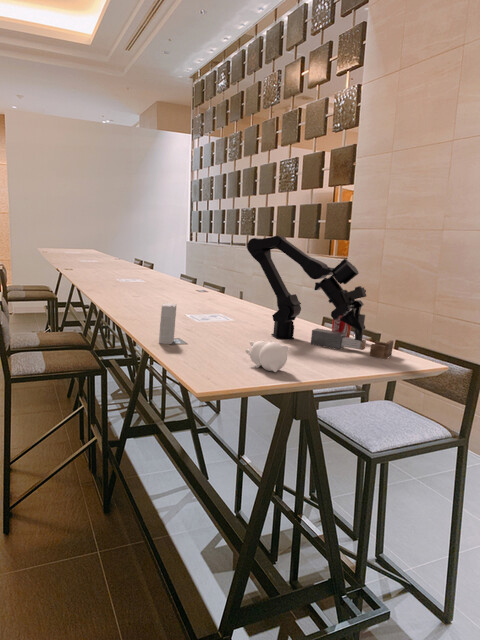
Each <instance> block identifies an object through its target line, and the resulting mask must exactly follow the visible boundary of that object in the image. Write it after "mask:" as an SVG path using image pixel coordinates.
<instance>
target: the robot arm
mask: <svg viewBox="0 0 480 640" xmlns="http://www.w3.org/2000/svg"><path fill="white" fill-rule="evenodd" d="M246 249H247V251H248V252H249V254H250V255H251V257H252V258H253V259H254V260H255V261H256V262H258V264H259V265H260V267H261V269H262V271H263V273H264V275H265V277H266V279H267V280H268V283H269V285H270V286H271V289H272V291H273V293H274V295H275V297H276V305H277V308H278V310H277V311H275V312H274V313H273V314H272V320H273V322H274V323H273V333H271V336H272V337H274V338H276V339H279V340H280V339H281V340H283V339H286V340H291V339H292V340H294V339H295V337H294V332H295V325H294V321H295V320H296V318H297V317H298V316H299V315H300V313H301V311H302V307H301V305H302V303H301V302H300V300H299V298H298V295H297V294H291V293H290V292H289V290H288V289H287V287H286V285H285V283H284V281H283V279H282V277H281V275H280V273H279V271H278V269H277V267H276V265H275V263H274V261H273V259H272V250H275V249H278V250H279V251H280V252H282V253H283V254H285V255H286V256H287V257H288V258H290V259H291V260H293V261H294V262H295V263H296V264H298V265H299V266H300V267H301V269H302V270H303V271H304V272H305V274H306V275H308V277H309V278H310V279H313V280H321V281H319V282H314V283H315V285H314V291H320V290H322V292H323V293H324V295H325V296H326V297H327V299H328V301H327V302H329V304H332V306H333V307H334V309H333V310H332V311H331V312H330V316H331V319H332V320H333V319H334V320H337V319H338V317H339V316H342V318H341V319H339V320H340V321H343V322H345V323H346V324H348V325H350V326H351V328H353V329H354V328H355V329H357V330H359V331H361V330H363V331H364V330H366V325H365V324H364V329H363V328H362V327H361V325H360V323H359V321H358V319H357V318H356V314H361V309H362V307H363V306H364V305H365V304H364V303H363V301H362V300H361V298H366V297H367V294H366V293H367V290H366V289H365V287H362V286H360V285H359V286H355V287H354V289H352V290H350V291H348V289H343V287H342V286H341V285H342V284H343V285H347V284H348V283H350V282H351V280H353V279H354V278H355V277H356V276H358V275H359V274H360V273H359V270H358V269H357V267H356V266H355V265H353V264H352V263H351V262H350V261H349V260H348V259H347V258H344V259H342V260H341V261H340V263H338V264H337V265H336V266H335V267H329V265H328V264H326V263H325V262H323V261H321V260H319V259H316V258H314V257H311V256H309V255H308V254H307V253H305V252H303V250H301V249H300V248H298V247H297V246H296V245H295V244H293V243H292V242H290V241H289V240H287V239H286V238H285V236H282V235H273V236H270V237H264V238H257V237H254V238H250V239H249V240H248V242H247V244H246ZM328 276H329V277H328ZM327 277H328V278H327Z"/></svg>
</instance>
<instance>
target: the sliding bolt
mask: <svg viewBox="0 0 480 640" xmlns="http://www.w3.org/2000/svg"><path fill="white" fill-rule="evenodd" d="M356 318H357V319H358V321H359V323H360V325H361V327H362V328H363V329H364V325H365V320H366V314H364V313H363V314H362V313H360V314H356ZM364 330H365V329H364ZM364 330H361V331H359V330H357V329H355V328H354V327H353V335H352V336H351V337H345V336H342V338H341V346H343V347H344V348H349V349H353V350H360V351H364V350H365V349H366V344H367V340H366V339H363V337H364Z"/></svg>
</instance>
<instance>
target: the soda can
mask: <svg viewBox="0 0 480 640" xmlns="http://www.w3.org/2000/svg"><path fill="white" fill-rule="evenodd" d="M341 318H342V316H339V317H338V319H337V320H334V319H333V318H332V323H331V324H332V325H331V331H336V332H342V333H346V336H345V337H350V336H351V330H352V326H350V325H348V324H346V323H345V322H343V321H340V320H339V319H341Z"/></svg>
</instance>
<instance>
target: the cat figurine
mask: <svg viewBox="0 0 480 640" xmlns="http://www.w3.org/2000/svg"><path fill="white" fill-rule="evenodd" d="M249 344H250V346H251V348H250V349H249V348H246V349H245V353H246V354H248V356H249V358H250V359H251V361H252V362H253V363H254V364H255V367H254V368H256V369H258V368H259V367H262V368H263V369H265V370H266V371H269V372H274V373H277V371H279V370H281V369H282V368H284V366H285V365H286V364H287V361H288V351H289V349H290V347H289V346H287V345H283V344H281V343H280V342H277V341H272V339H269V340H268V342H267V341H264V340H258V341H254V340H251V341H249Z"/></svg>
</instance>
